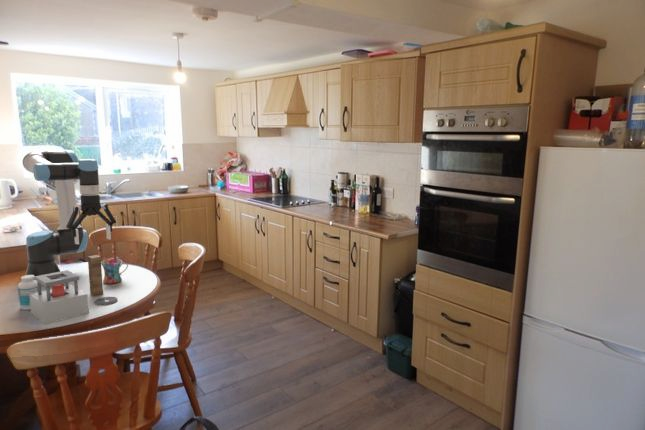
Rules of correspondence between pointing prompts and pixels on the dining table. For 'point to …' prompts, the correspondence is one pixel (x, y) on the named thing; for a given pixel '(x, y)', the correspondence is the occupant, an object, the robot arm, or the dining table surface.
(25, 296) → the pill bottle
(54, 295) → the breaker button
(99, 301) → the pad
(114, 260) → the mug
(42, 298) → the box
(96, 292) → the brown wooden block
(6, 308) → the dining table surface
